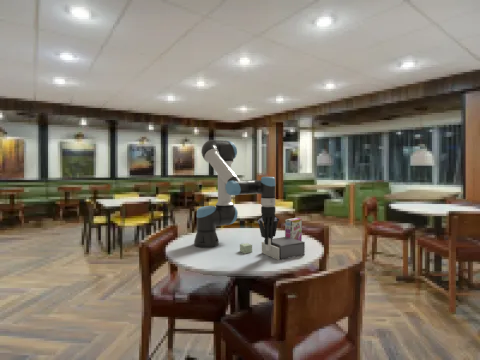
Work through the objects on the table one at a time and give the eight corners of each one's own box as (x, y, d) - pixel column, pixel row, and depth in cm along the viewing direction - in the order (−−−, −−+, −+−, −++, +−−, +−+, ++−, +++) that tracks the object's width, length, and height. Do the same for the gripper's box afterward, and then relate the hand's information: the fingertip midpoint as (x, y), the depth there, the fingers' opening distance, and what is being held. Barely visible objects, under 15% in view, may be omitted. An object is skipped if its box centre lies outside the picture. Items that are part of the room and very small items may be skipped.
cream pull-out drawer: (284, 248, 169) (284, 238, 169) (301, 255, 156) (301, 244, 156) (261, 252, 161) (261, 242, 161) (277, 259, 149) (277, 248, 148)
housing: (286, 248, 170) (286, 236, 170) (304, 254, 157) (304, 242, 157) (264, 252, 162) (264, 240, 162) (280, 259, 149) (280, 246, 149)
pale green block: (240, 251, 165) (239, 244, 165) (247, 249, 168) (247, 243, 167) (244, 253, 161) (244, 246, 161) (252, 252, 163) (252, 245, 163)
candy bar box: (291, 248, 170) (291, 220, 170) (284, 246, 174) (284, 219, 173) (302, 245, 178) (302, 218, 177) (295, 243, 182) (295, 217, 181)
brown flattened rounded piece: (270, 250, 160) (270, 243, 160) (281, 248, 164) (281, 241, 164) (279, 254, 153) (279, 246, 153) (291, 251, 158) (291, 244, 157)
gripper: (262, 207, 147) (262, 253, 148) (282, 205, 154) (282, 250, 154) (254, 206, 154) (254, 250, 154) (274, 204, 160) (274, 247, 161)
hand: (268, 250), depth 154 cm, fingers closed
